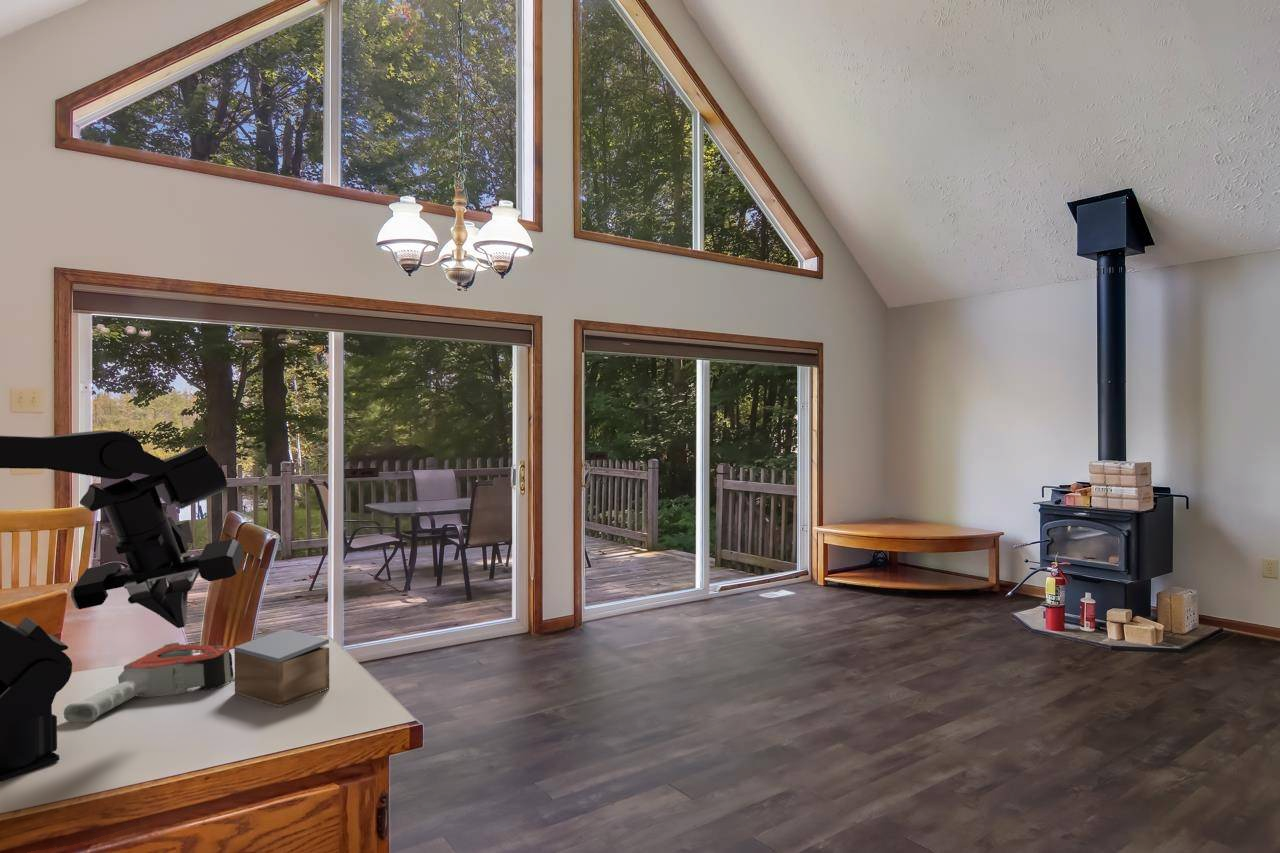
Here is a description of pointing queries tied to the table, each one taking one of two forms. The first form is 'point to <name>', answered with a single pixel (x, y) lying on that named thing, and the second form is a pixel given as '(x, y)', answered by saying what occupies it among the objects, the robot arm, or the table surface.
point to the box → (282, 676)
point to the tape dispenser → (159, 678)
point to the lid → (281, 645)
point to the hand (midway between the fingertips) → (182, 625)
